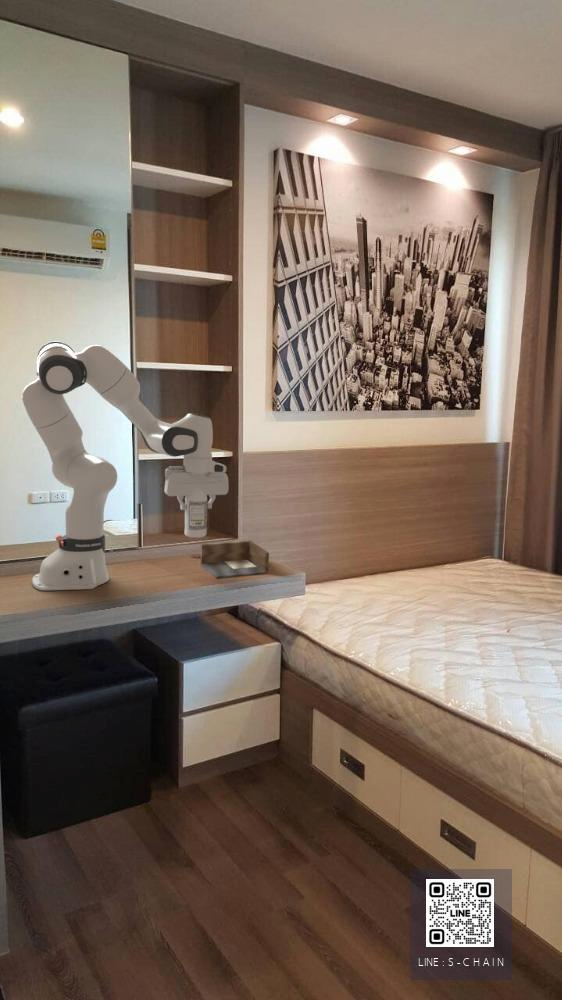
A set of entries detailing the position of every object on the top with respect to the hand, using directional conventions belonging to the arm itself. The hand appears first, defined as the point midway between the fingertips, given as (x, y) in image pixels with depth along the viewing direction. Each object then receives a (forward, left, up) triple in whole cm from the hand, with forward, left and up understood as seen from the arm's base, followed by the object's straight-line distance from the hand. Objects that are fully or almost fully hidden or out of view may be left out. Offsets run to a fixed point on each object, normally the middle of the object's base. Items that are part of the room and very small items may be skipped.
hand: (196, 509), depth 227 cm
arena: (+14, +2, -22) cm, 26 cm away
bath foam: (0, 0, -9) cm, 9 cm away
